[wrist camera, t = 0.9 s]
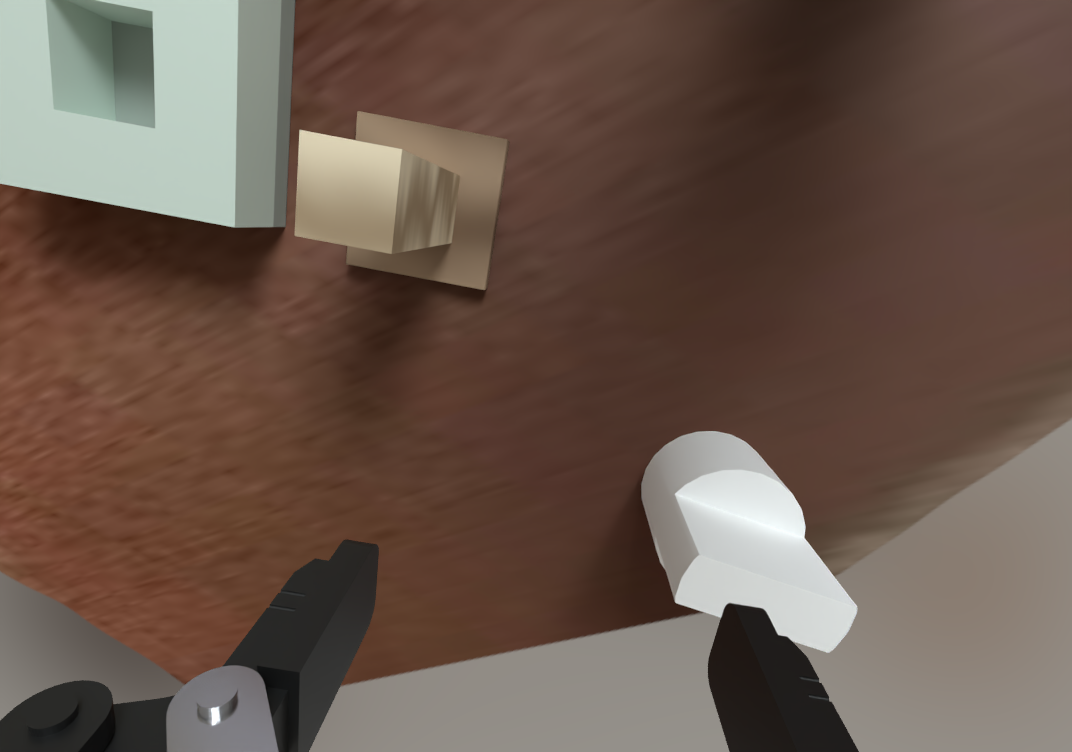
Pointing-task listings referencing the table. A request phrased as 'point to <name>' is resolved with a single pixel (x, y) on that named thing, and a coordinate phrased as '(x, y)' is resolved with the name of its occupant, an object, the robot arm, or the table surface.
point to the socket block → (150, 104)
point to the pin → (372, 196)
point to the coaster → (476, 201)
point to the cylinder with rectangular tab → (739, 539)
